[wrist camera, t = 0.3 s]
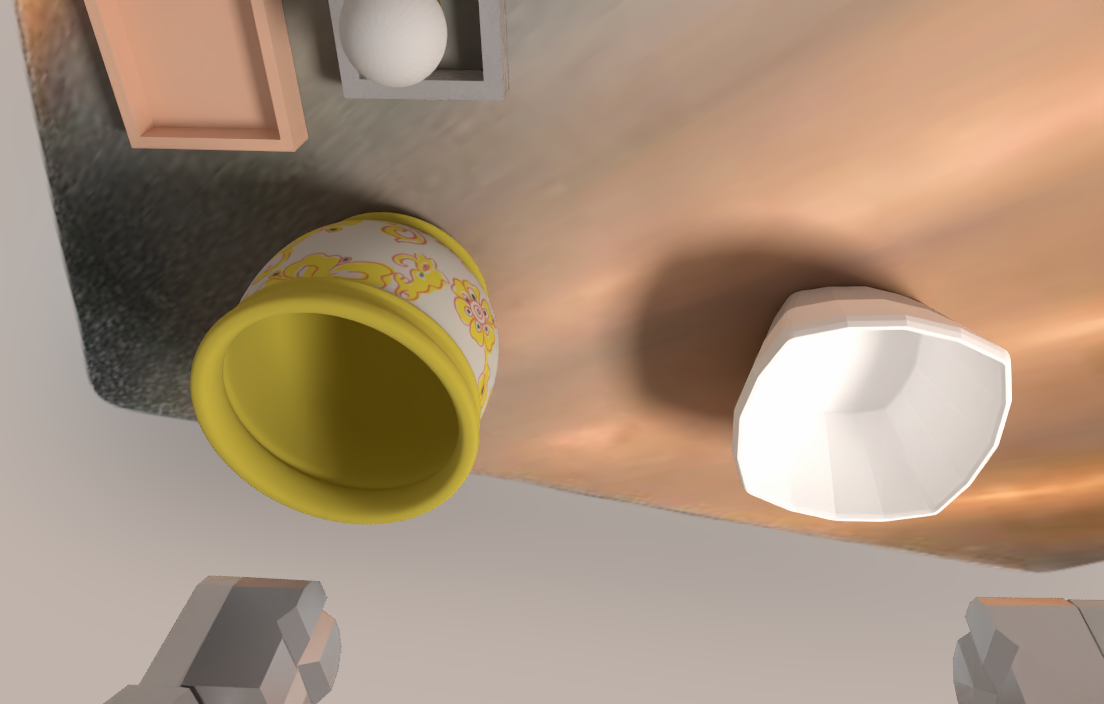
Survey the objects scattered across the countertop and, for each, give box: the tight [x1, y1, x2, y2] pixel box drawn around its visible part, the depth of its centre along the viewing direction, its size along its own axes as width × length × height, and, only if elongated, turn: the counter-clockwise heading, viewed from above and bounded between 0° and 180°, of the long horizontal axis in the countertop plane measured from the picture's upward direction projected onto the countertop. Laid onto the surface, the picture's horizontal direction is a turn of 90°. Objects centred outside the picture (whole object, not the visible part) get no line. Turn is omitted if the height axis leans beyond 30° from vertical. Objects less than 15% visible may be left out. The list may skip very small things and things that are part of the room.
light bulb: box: [339, 0, 447, 88], centre depth 46 cm, size 6×6×10 cm
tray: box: [84, 0, 308, 152], centre depth 53 cm, size 12×12×3 cm
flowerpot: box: [190, 212, 499, 524], centre depth 56 cm, size 18×18×16 cm
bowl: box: [732, 286, 1012, 522], centre depth 58 cm, size 18×18×9 cm
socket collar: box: [328, 0, 509, 101], centre depth 50 cm, size 10×10×2 cm
